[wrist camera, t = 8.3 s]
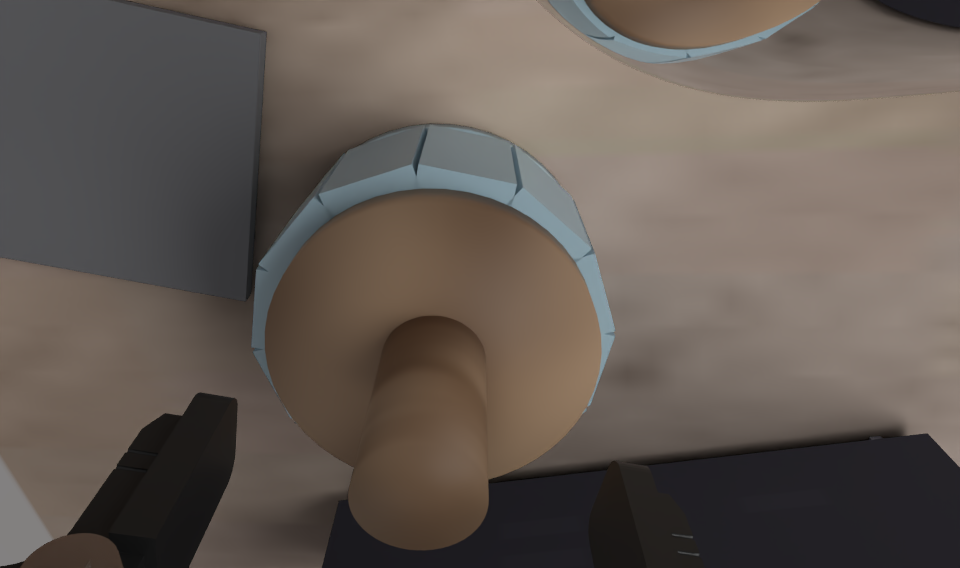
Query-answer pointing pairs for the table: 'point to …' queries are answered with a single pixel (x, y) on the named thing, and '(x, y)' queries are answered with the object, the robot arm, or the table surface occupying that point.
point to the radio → (722, 513)
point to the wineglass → (779, 45)
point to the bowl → (435, 165)
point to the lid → (432, 354)
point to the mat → (130, 142)
